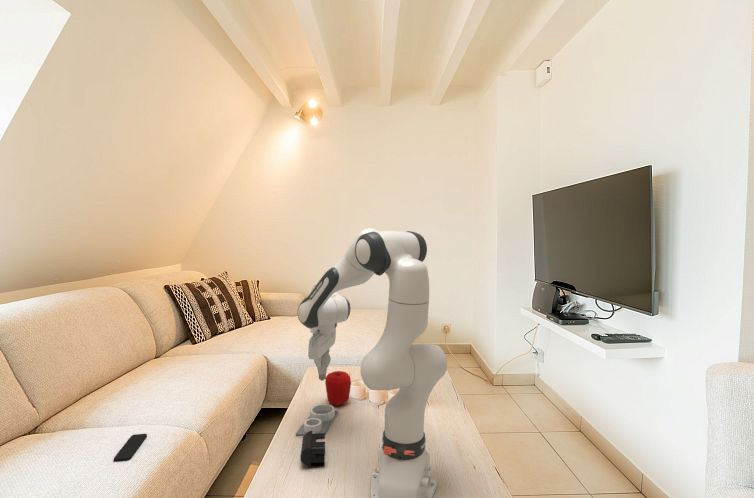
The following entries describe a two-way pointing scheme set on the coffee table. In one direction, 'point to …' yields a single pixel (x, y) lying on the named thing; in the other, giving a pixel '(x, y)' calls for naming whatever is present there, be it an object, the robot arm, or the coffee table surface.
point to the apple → (338, 387)
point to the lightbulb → (323, 366)
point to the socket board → (318, 420)
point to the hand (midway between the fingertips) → (322, 363)
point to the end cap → (313, 450)
